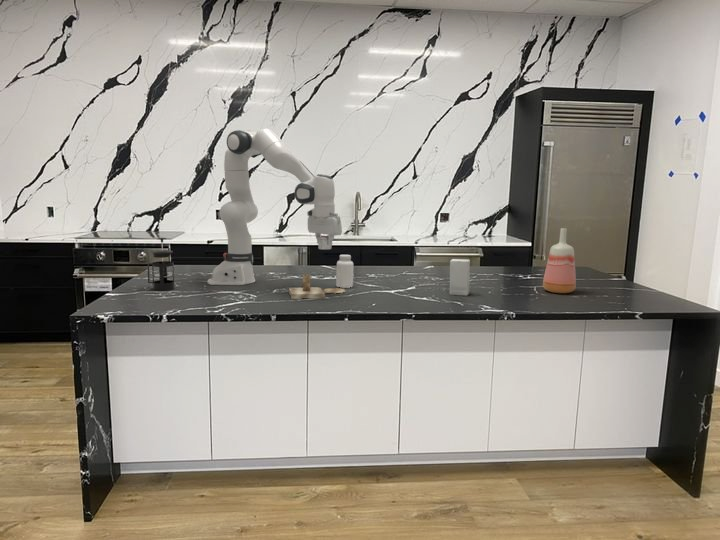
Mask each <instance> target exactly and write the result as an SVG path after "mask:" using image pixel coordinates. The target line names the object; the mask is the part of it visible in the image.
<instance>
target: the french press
mask: <svg viewBox="0 0 720 540" xmlns="http://www.w3.org/2000/svg"><path fill="white" fill-rule="evenodd" d="M167 239H168V238H166V237H158V238H156V240H160V243H161V250H153V251H151V254H152V258H159V259H161V260H160V261H159V260H158V261H153V262H148V263H147V280H148V281H147V283H148V284H152V291H156V292H169V291H173V290H175V289H176V287H175V271H174V270H175V269H174V265H175V264H174V261H171V260H170V261H169V260H168V261H167V260H165V261H164V258H169V257H170V256H172V253H173V252H174V251H173V250H167V249H165V250H164V248H163V247H164V246H163V243H164V240H167ZM150 265H151V267H152V268H151V270H152V281H150V279H151V278H150ZM168 267H172V273H168V270H167V269H168ZM155 268H158V273H156V274H155V273H154V271H155V270H154V269H155ZM155 278H158V279H159V280H155ZM168 278H172V280H171V279H168Z"/></svg>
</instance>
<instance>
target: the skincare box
mask: <svg viewBox="0 0 720 540" xmlns="http://www.w3.org/2000/svg"><path fill="white" fill-rule="evenodd" d="M470 269H471V259H466V258H465V259H463V258H462V259H461V258H452V259H450V261H449V295H450V294H451V295H452V296H468V295H469V294H470V273H471V270H470Z"/></svg>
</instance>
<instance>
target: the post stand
mask: <svg viewBox="0 0 720 540" xmlns="http://www.w3.org/2000/svg"><path fill="white" fill-rule="evenodd" d="M288 293H289V296H290V299H291V300H302V298H310V299H325V298H326V293H324V292H323V289H322V288H321V287H320V286H314V287H313V286H311V273H310V274H309V273H303V274H302V287H288Z"/></svg>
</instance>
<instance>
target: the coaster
mask: <svg viewBox="0 0 720 540" xmlns="http://www.w3.org/2000/svg"><path fill="white" fill-rule="evenodd" d="M322 290H323V292H324V293H325V294H327V293H334V294H333V295H337V294H336V293H341V294H344V293H346V290H345V288H339V287H336V288H335V287H331V288H324V289H322ZM343 292H344V293H343Z"/></svg>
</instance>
